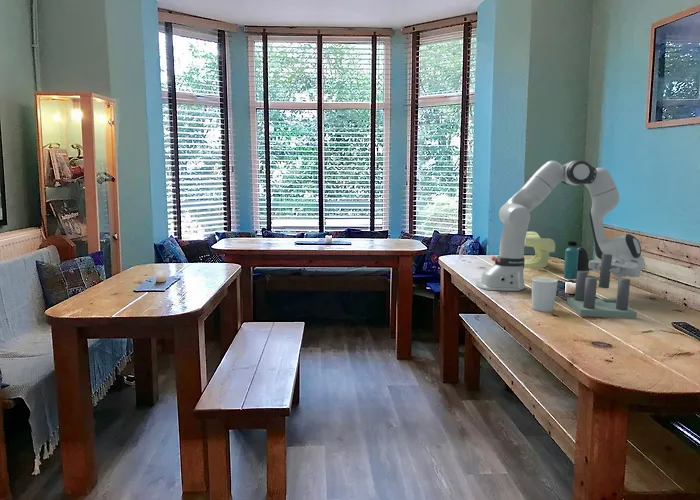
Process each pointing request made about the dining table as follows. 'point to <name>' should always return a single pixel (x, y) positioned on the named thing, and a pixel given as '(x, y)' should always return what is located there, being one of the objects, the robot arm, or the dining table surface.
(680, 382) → the dining table surface
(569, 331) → the dining table surface
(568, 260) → the beverage bottle
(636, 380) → the dining table surface
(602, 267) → the stool leg
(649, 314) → the dining table surface
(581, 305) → the stool seat
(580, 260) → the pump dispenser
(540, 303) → the candle holder
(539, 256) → the pale yellow curved piece
